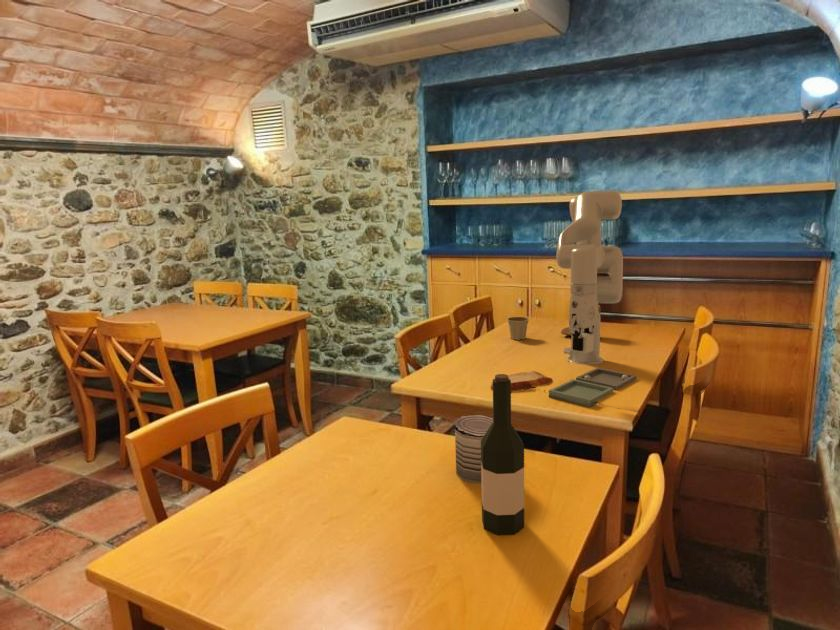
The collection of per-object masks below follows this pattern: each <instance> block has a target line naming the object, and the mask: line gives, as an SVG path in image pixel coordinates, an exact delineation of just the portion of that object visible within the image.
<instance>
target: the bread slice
mask: <svg viewBox="0 0 840 630" xmlns="http://www.w3.org/2000/svg"><path fill="white" fill-rule="evenodd" d="M507 375H508V379H510V381H511V390H515V391H521V389H524V390H529V389H530V388H531V389H537V387H536V386H542V385H547V384H550V383H552V382H553V378H552V377H548V376H546V375H544V374H542V373H541V372H537V371H535V370H533V371H532V370H531V371H524V372H518V373H517V372H516V373H513V374H507ZM490 389H491V391H493V381H492V383H491V386H490Z"/></svg>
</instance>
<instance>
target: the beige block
mask: <svg viewBox="0 0 840 630" xmlns="http://www.w3.org/2000/svg"><path fill="white" fill-rule="evenodd" d="M570 337H571V339H570V342H571V344H570V346H571V347H570V348H571V351H575V352H581V353H588V352H591V351H593V349H594V334H588V333H582V338H583V351H577V350H573V337H572V335H571V336H570Z"/></svg>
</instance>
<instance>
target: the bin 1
mask: <svg viewBox="0 0 840 630" xmlns="http://www.w3.org/2000/svg"><path fill="white" fill-rule="evenodd" d="M613 392H614V390H613V388H611V387H606V386H602V385H597V384H592V383H588V382H583V381H579V380H576V379H575V378H574V379H573V378H572V379H570V380H568V381H566V382H564V383H562V384H559V385H557V386H555V387H553V388H551V389H549V390H548V398H550V397H551V399H554V398H555V399H554V400H558V399H559V400H558V401H562V400H563V402H566V401H567V402H566V403H570V402H571V404H575V405H578V406H583V407H586V408H592V407H593V406H595V405H597V404H599V400H601V399H603V398H604V397H606V396H609V395H610V394H612V393H613Z"/></svg>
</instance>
